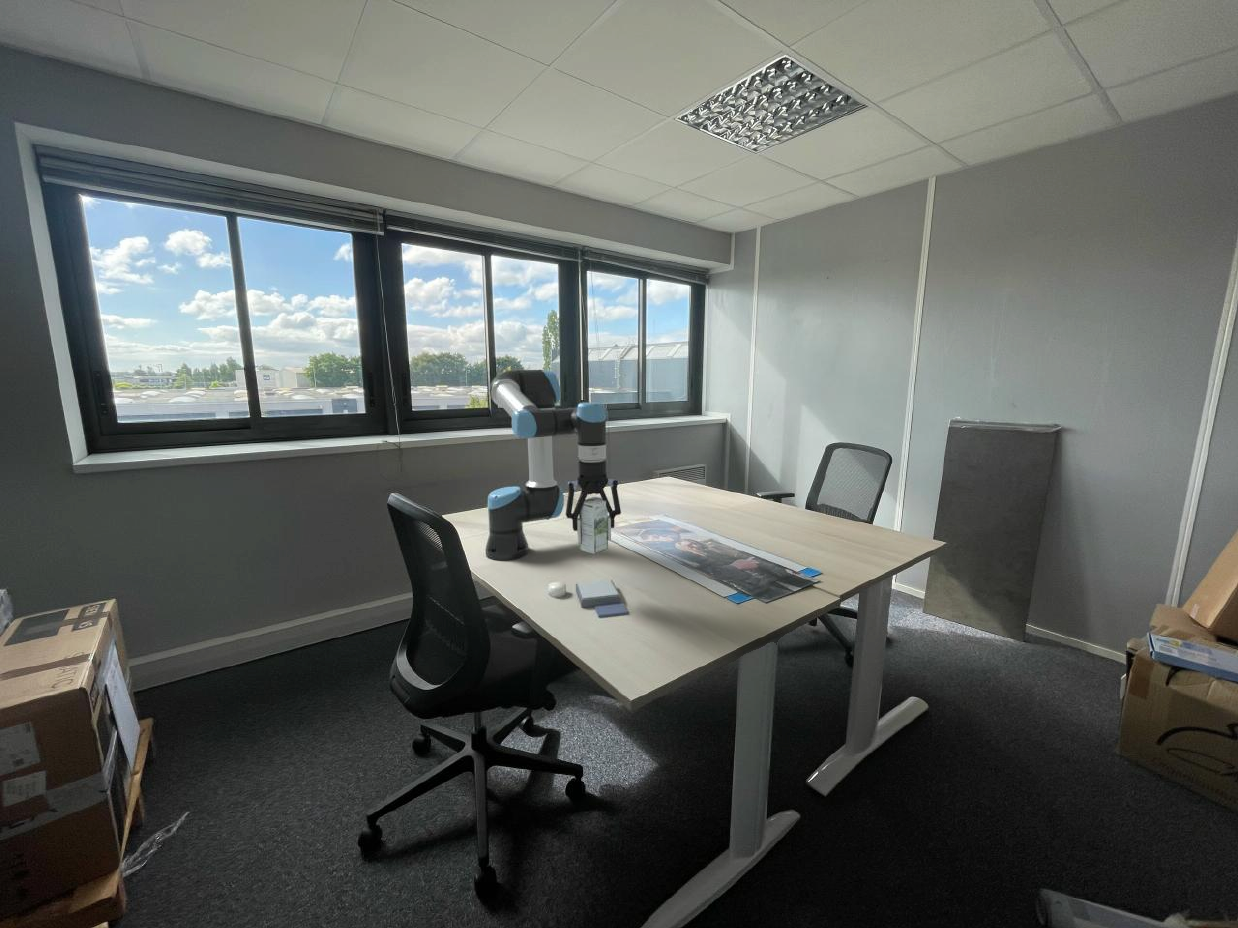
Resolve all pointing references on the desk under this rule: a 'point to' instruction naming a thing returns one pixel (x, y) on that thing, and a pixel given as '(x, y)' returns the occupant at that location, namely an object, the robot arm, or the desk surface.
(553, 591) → the white dome
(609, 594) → the podium
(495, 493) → the robot arm
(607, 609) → the navy notebook
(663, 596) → the desk surface
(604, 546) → the syrup box
